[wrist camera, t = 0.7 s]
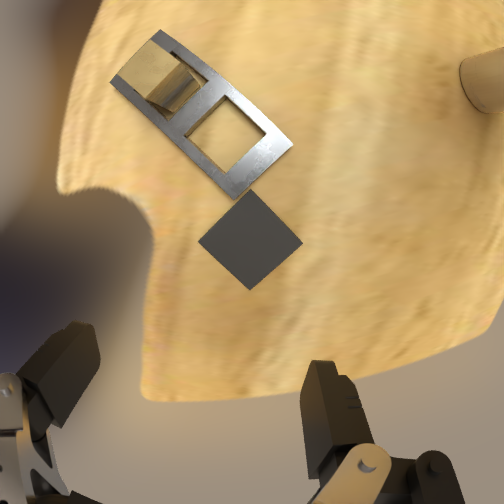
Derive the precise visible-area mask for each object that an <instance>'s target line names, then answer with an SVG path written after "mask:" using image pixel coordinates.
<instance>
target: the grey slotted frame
mask: <svg viewBox="0 0 504 504" xmlns="http://www.w3.org/2000/svg"><path fill="white" fill-rule="evenodd" d="M149 40H152V41H153V42H154V43H156V44H157V45H158V46H160V47H161V48H162V49H164V50H165V51H166V52H168V53H169V54H170V55H172V56H173V57H174V58H175V57H176V56H178V57H179V58H180V59H181V60H183V61H184V62H185V63H186V64H188V65H189V66H190V67H191V68H193V69H194V70H195V71H196V72H198V73H199V74H200V75H201V76H202V77H204V78H205V79H206V80H207V81H208V82H207V83H206V84H205V85H204V86H203V87H202V88H201V89H200V90H199V91H198V92H197V93H196V94H195V95H194V96H193V97H192V98H191V99H190V100H189V101H188V102H187V103H186V104H185V105H184V106H183V107H182V108H181V109H180V110H179V111H178V112H177V113H176V114H175V115H174V116H173V117H172V118H171V119H170V120H169V119H168V118H167V117H166V116H165V115H164V114H163V113H161V112H160V111H159V110H158V109H157V108H156V107H155V106H154V105H153V104H152V103H150V102H149V101H148V100H147V99H145V98H144V97H143V96H142V95H141V94H139V93H138V92H137V91H136V90H135V89H134V88H133V87H132V86H130V85H129V84H128V83H127V82H126V81H125V80H124V79H122V78H121V77H120V76H119V75H118V74H116V75H115V76H114V78H113V79H112V80H111V81H110V83H111V84H112V85H113V86H114V87H115V88H116V89H117V90H118V91H119V92H121V93H122V94H123V95H124V96H125V97H126V98H127V99H128V100H129V101H130V102H131V103H133V104H134V105H135V106H136V107H137V108H138V109H139V110H140V111H141V112H142V113H143V114H144V115H146V116H147V117H148V118H149V119H150V120H151V121H152V122H153V123H154V124H155V125H156V126H157V127H158V128H159V129H161V130H162V131H163V132H164V133H165V134H166V135H167V136H168V137H169V138H170V139H171V140H172V141H173V142H174V143H175V144H176V145H177V146H178V147H180V148H181V149H182V150H183V151H184V152H185V153H186V154H187V155H188V156H189V157H190V158H191V159H192V160H193V161H194V162H195V163H196V164H197V165H198V166H199V167H200V168H201V169H202V170H203V171H204V172H205V173H207V174H208V175H209V176H210V177H211V178H212V179H213V180H214V181H215V182H216V183H217V184H218V185H219V186H220V187H221V188H222V189H223V190H224V191H225V192H226V193H227V194H228V195H229V196H230V197H231V198H232V199H233V200H235V199H236V198H237V197H238V196H239V195H240V194H241V193H242V192H243V191H244V190H245V189H246V188H247V187H248V186H249V185H250V184H251V183H252V182H253V181H255V180H256V179H257V178H258V177H259V176H260V175H261V174H262V173H263V172H264V171H265V170H266V169H267V168H268V167H269V166H270V165H271V164H272V163H274V162H275V161H276V160H277V159H278V158H279V157H280V156H281V155H282V154H283V153H284V152H285V151H287V150H288V149H289V148H290V147H291V146H292V145H293V143H292V142H291V141H290V140H289V139H288V138H287V137H286V136H285V135H284V134H283V133H282V132H281V131H280V130H279V129H278V128H277V127H276V126H275V125H274V124H273V123H272V122H271V121H270V120H269V119H268V118H267V117H266V116H265V115H264V114H263V113H262V112H261V111H259V110H258V109H257V108H256V107H255V106H254V105H253V104H252V103H251V102H250V101H249V100H248V99H247V98H245V97H244V96H243V95H242V94H241V93H240V92H239V91H238V90H237V89H235V88H234V87H233V86H232V85H231V84H230V83H229V82H227V81H226V80H225V79H224V78H223V77H222V76H220V75H219V74H218V73H217V72H216V71H214V70H213V69H212V68H211V67H210V66H208V65H207V64H206V63H205V62H203V61H202V60H201V59H200V58H198V57H197V56H196V55H194V54H193V53H192V52H191V51H189V50H188V49H187V48H185V47H184V46H183V45H181V44H180V43H179V42H177V41H176V40H175V39H173V38H172V37H170V36H169V35H168V34H166V33H165V32H163V31H162V30H161V29H160V30H159V31H158V32H157V33H156V34H155V35H154V36H152V37H151V38H150V39H149ZM149 40H148V41H149ZM148 41H147V42H148ZM147 42H146V43H147ZM146 43H145V44H146ZM145 44H144V45H145ZM144 45H143V46H144ZM143 46H142V47H143ZM142 47H141V48H142ZM141 48H140V49H141ZM140 49H139V50H140ZM139 50H138V51H139ZM138 51H137V52H138ZM137 52H136V53H137ZM136 53H135V54H136ZM135 54H134V55H135ZM134 55H133V56H134ZM133 56H132V57H133ZM132 57H131V58H132ZM122 68H123V67H122ZM122 68H121V69H122ZM121 69H120V70H121ZM226 98H228V99H229V100H230V101H231V102H232V103H233V104H234V105H235V106H237V107H238V108H239V109H240V110H241V111H242V112H243V113H244V114H245V115H246V116H247V117H248V118H249V119H251V120H252V121H253V122H254V123H255V124H256V125H257V126H258V127H259V128H260V129H261V130H262V131H263V132H264V133H265V134H266V135H265V136H264V137H263V138H262V139H261V140H260V141H259V142H258V143H257V144H256V145H255V146H254V147H252V148H251V149H250V150H249V151H248V152H247V153H246V154H245V155H244V156H243V157H242V158H241V159H240V160H239V161H238V162H237V163H236V164H235V165H234V166H233V167H232V168H231V169H230V170H229V171H228V172H227V173H225V172H224V171H223V170H222V169H221V168H220V167H219V166H218V165H217V164H216V163H215V162H214V161H212V160H211V159H210V158H209V157H208V156H207V155H206V154H205V153H204V152H203V151H202V150H201V149H200V148H199V147H198V146H197V145H196V144H195V143H194V142H193V141H192V140H190V139H189V138H188V136H189V135H190V134H191V133H192V132H193V131H194V130H195V129H196V128H197V127H198V126H199V125H200V124H201V123H202V122H203V121H204V120H205V119H206V118H207V117H208V116H209V115H210V114H211V113H212V112H213V111H214V110H215V109H216V108H217V107H218V106H219V105H220V104H221V103H222V102H223V101H224V100H225V99H226Z"/></svg>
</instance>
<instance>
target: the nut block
mask: <svg viewBox="0 0 504 504" xmlns="http://www.w3.org/2000/svg"><path fill="white" fill-rule="evenodd" d="M117 74H118V75H119V76H120V77H121V78H122V79H124V80H125V81H126V82H127V83H128V84H129V85H130V86H132V87H133V88H134V89H135V90H136V91H137V92H138V93H139V94H141V95H142V96H143V97H144V98H145V99H147V100H149V101H151V102H154V103H156V104H158V105H160V106H162V107H164V108H166V109H168V110H170V111H172V112H175V111H176V110H177V109H178V108H179V107H180V106H181V105H182V104H183V103H184V101H185V100H186V99H187V98H188V97H189V96H190V95H192V94H193V93H194V92H195V91H196V90H197V89H198V88H199V87H200V85H199V83H198V82H197V81H196V80H195V79H194V78H193V76H192V75H191V74H190V73H189V72H188V71H187V69H186V68H185V67H184V66H183V65H182V64H181V63H180V62H179V61H178V60H177V59H175V58H174V57H173V56H172V55H170V54H169V53H168V52H166V51H165V50H164V49H162V48H161V47H160V46H158V45H157V44H156V43H154V42H153V41H152V40H149V41H148V42H147V43H146V44H145V45H144V46H143V47H142V48H141V49H140V50H139V51H138V52H137V53H136V54H135V55H134V56H133V57H132V58H131V59H130V60H129V61H128V62H127V63H126V64H125V65H124V66H123V68H122V69H121V70H120V71H119V72H118V73H117Z"/></svg>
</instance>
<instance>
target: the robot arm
mask: <svg viewBox="0 0 504 504" xmlns="http://www.w3.org/2000/svg"><path fill="white" fill-rule="evenodd" d="M460 77H461V82H462V85H463V88H464V90H465V93H466V95H467V96H468V98H469V100H470V101H471V103H472V104H473V105H474V106H475V107H476V108H477V109H478V110H480V111H481V112H483V113H504V47H502V48H499V49H495V50H492V51H489V52H486V53H483V54H479V55H476V56H473V57H470V58H468V59H465V60H464V61H463V62H462V64H461V67H460ZM99 366H100V353H99V349H98V344H97V340H96V335H95V330H94V328H93V326H92V325H91V324H88V323H84V322H81V321H77V320H74V321H72V322H71V323H70V324H69V325H68V326H67V327H66V328H65V329H64V330H63V329H62V330H60V331H58V332H56V333H54V334H52V335H51V336H50V337H49V338H48V339H47V340H46V341H45V342H44V345H42V346H41V347H40V348H39V349H38V351H36V352H35V353H34V354H33V355H32V356H31V358H30V359H29V360H28V361H27V362H26V363H25V364H24V365H23V366H22V367H21V369H20V370H19V371H18V372H17V373H16V374H13V373H3V374H0V504H102V503H99V502H97V501H95V500H92V499H90V498H88V497H85V496H83V495H81V494H79V493H77V492H74V491H73V490H72V491H71V494H69V492H68V489H67V487H66V485H65V483H64V482H63V480H62V479H61V477H60V474H59V472H58V468H57V464H56V460H55V455H54V451H53V446H52V441H51V435H50V431H49V429H48V427H49V426H50V424H53V425H55V426H57V427H59V428H62V427H63V425H64V423H65V422H66V420H67V418H68V417H69V415H70V413H71V412H72V410H73V409H74V407H75V405H76V404H77V402H78V400H79V399H80V397H81V396H82V394H83V392H84V390H85V389H86V388H87V386H88V385H89V383H90V381H91V380H92V378H93V377H94V375H95V374H96V372H97V371H98V369H99ZM300 409H301V417H302V424H303V433H304V442H305V449H306V459H307V468H308V477H309V479H319V482H320V488H319V489H318V490H317V492H316V493H315V494H314V495H313V496H312V498H311V499H310V500H309V501H308V503H307V504H465V501H464V498H463V495H462V492H461V489H460V486H459V483H458V480H457V477H456V474H455V472H454V469H453V466H452V463H451V461H450V459H449V458H448V457H447V456H446V455H445V454H443V453H442V452H439V451H433V450H431V451H427V452H425V453H423V454H422V455H421V456H419V457H418V458H417V459H416V460H415V459H403V458H394V457H391V456H389V454H388V453H387V452H386V451H385V450H384V449H383V448H382V447H380V446H378V445H375V443H374V440H373V437H372V434H371V431H370V428H369V425H368V422H367V419H366V416H365V413H364V410H363V408H362V404H361V401H360V399H359V395H358V392H357V390H356V387H355V385H354V384H353V382H352V381H351V380H350V379H349V378H348V377H347V376H346V375H338V372H337V369H336V366H335V363H334V361H321V360H312V361H311V363H310V365H309V369H308V372H307V375H306V378H305V381H304V383H303V386H302V389H301V394H300Z"/></svg>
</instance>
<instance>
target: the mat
mask: <svg viewBox="0 0 504 504" xmlns="http://www.w3.org/2000/svg"><path fill="white" fill-rule="evenodd" d="M198 242H199V243H200V244H201V245H202V246H203V247H204V248H205V249H206V250H207V251H208V252H209V253H210V254H211V255H212V256H213V257H214V258H215V259H217V260H218V261H219V262H220V263H221V264H222V265H223V266H224V267H225V268H226V269H227V270H228V271H229V272H230V273H231V274H233V275H234V276H235V277H236V278H237V279H238V280H239V281H240V282H241V283H242V284H243V285H244V286H246V287H247V288H248V289H249V290H251V289H252V288H253V287H254V286H255V285H257V284H258V283H259V282H260V281H261V280H262V279H263V278H265V277H266V276H267V275H268V274H269V273H270V272H271V271H273V270H274V269H275V268H276V267H277V266H278V265H279V264H281V263H282V262H283V261H284V260H285V259H286V258H287V257H288V256H290V255H291V254H292V253H293V252H294V251H295V250H296V249H297V248H299V247H300V246H301V245H302V244H303V243H302V242H301V241H300V239H299V238H298V237H297V236H296V235H295V234H294V233H293V232H292V231H291V230H290V229H289V228H288V227H287V226H286V225H285V224H284V223H283V222H282V221H281V220H280V218H279V217H278V216H277V215H276V214H275V213H274V212H273V211H272V210H271V209H270V208H269V207H268V206H267V205H266V204H265V203H264V202H263V201H262V200H261V199H260V198H259V197H258V196H257V195H256V194H255V193H254V192H253V191H252V190H251V189H250V190H249V191H248V192H247V193H246V194H245V195H244V196H243V197H242V198H241V199H240V200H239V201H238V202H237V203H236V204H235V205H234V206H233V207H232V208H231V209H230V210H229V211H228V212H227V213H226V214H225V215H224V216H223V217H222V218H221V219H220V220H219V221H218V222H217V223H216V224H215V225H214V226H213V227H212V228H211V229H210V230H209V231H208V232H207V233H206V234H205V235H204V236H203V237H202V238H201V239H200V240H199V241H198Z"/></svg>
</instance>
